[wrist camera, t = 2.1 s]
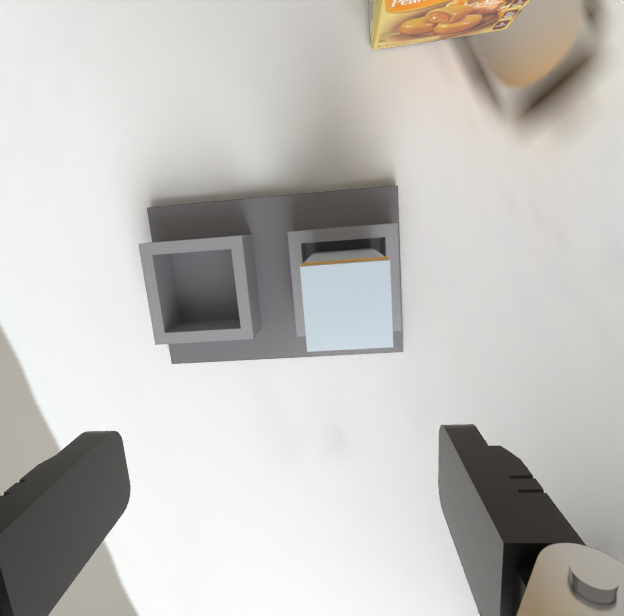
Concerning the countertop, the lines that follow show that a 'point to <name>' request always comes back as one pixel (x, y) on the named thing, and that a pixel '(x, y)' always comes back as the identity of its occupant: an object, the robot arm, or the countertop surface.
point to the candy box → (437, 19)
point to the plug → (347, 299)
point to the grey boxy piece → (257, 270)
